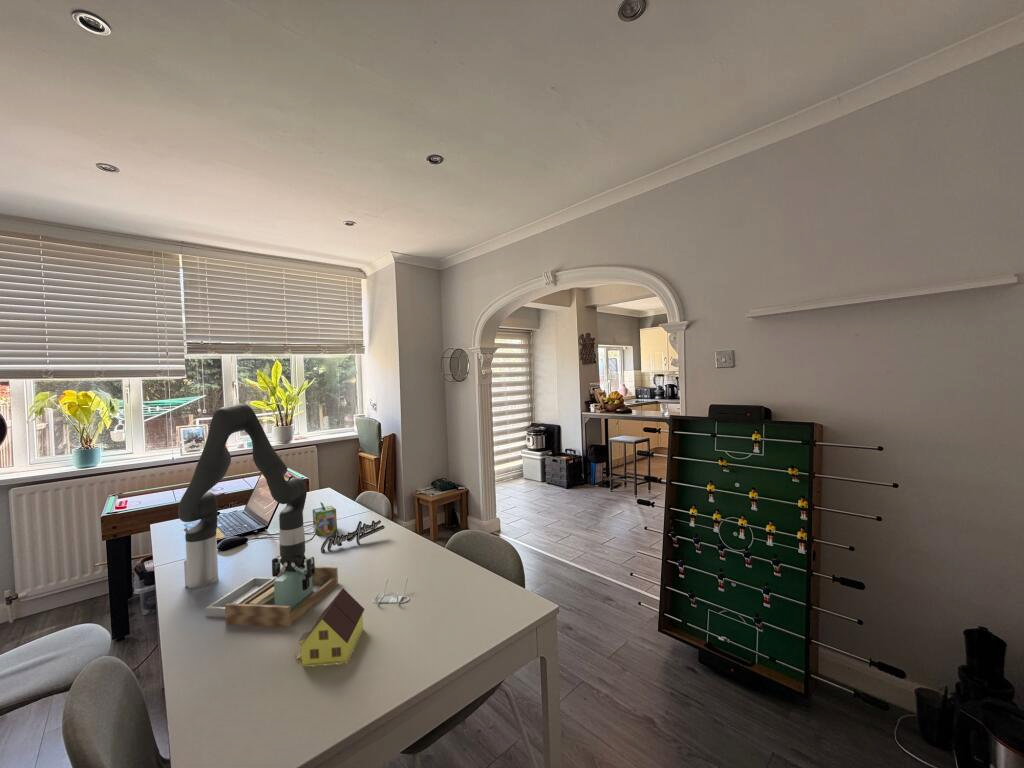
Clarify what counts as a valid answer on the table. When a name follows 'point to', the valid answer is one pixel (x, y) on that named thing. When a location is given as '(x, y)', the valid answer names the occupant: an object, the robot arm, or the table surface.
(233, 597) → the tray
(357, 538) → the nameplate
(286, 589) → the mint green rectangular block
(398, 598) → the wall mount rack
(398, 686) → the table surface
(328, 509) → the juice box
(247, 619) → the brown wooden open box
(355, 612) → the house model
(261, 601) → the offcut short
